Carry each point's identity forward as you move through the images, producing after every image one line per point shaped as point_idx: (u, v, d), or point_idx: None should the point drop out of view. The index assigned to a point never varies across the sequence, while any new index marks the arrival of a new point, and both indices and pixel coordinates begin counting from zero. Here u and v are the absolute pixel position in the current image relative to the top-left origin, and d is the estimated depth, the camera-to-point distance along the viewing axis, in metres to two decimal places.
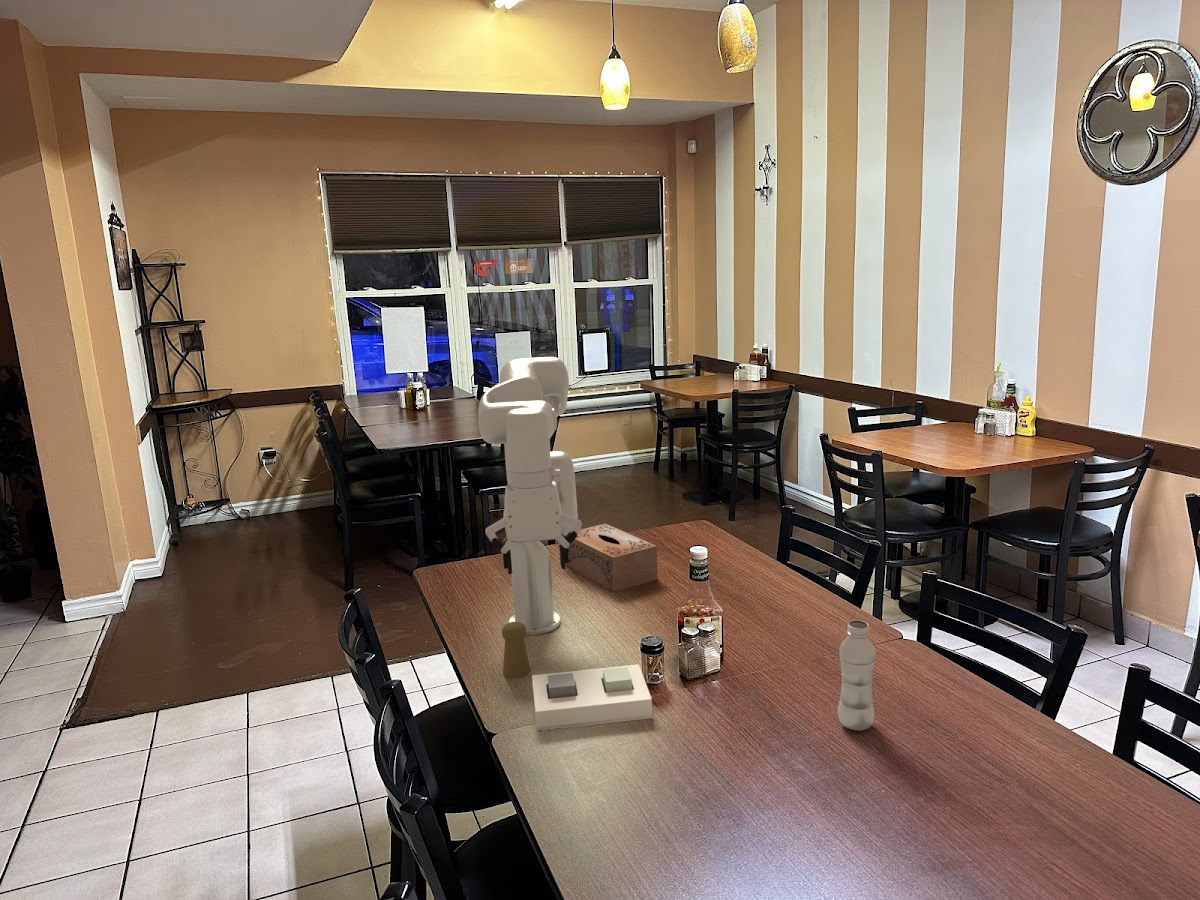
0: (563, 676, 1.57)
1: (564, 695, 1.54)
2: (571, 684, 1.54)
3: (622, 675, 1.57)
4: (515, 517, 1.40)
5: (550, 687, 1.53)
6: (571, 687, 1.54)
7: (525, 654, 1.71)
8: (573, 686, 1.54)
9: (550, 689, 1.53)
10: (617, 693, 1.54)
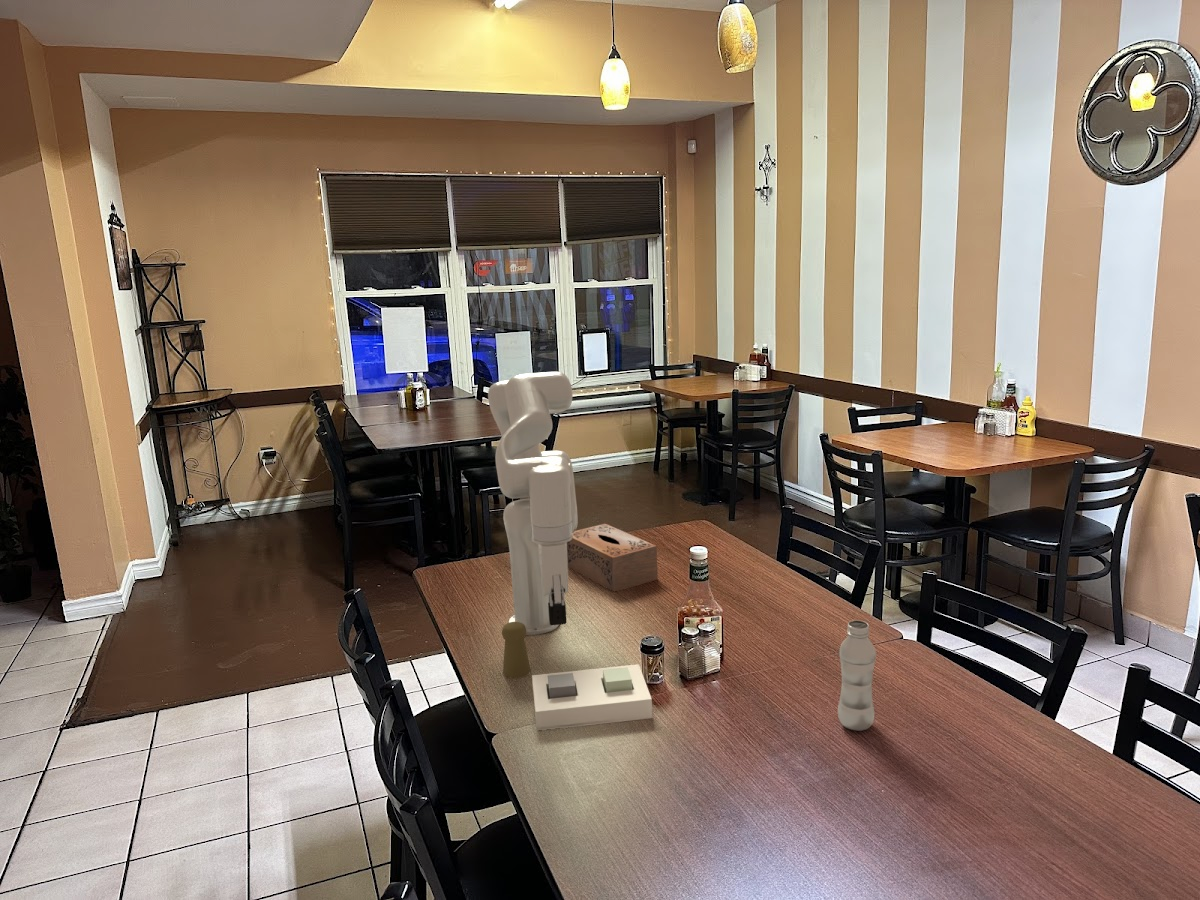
0: (563, 676, 1.57)
1: (564, 695, 1.54)
2: (571, 684, 1.54)
3: (622, 675, 1.57)
4: (567, 568, 1.48)
5: (550, 687, 1.53)
6: (571, 687, 1.54)
7: (525, 654, 1.71)
8: (573, 686, 1.54)
9: (550, 689, 1.53)
10: (617, 693, 1.54)
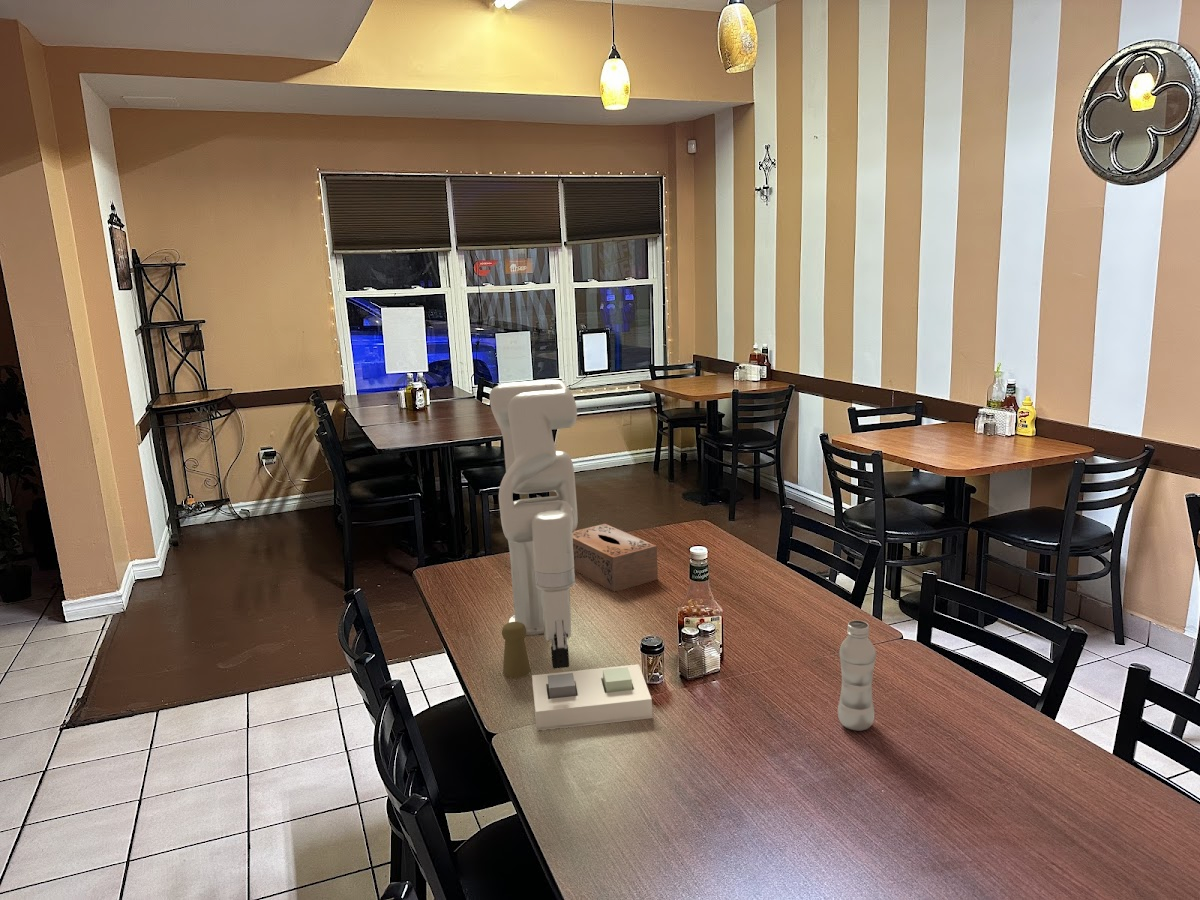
0: (563, 676, 1.57)
1: (564, 695, 1.54)
2: (571, 684, 1.54)
3: (622, 675, 1.57)
4: (570, 612, 1.49)
5: (550, 687, 1.53)
6: (571, 687, 1.54)
7: (525, 654, 1.71)
8: (573, 686, 1.54)
9: (550, 689, 1.53)
10: (617, 693, 1.54)
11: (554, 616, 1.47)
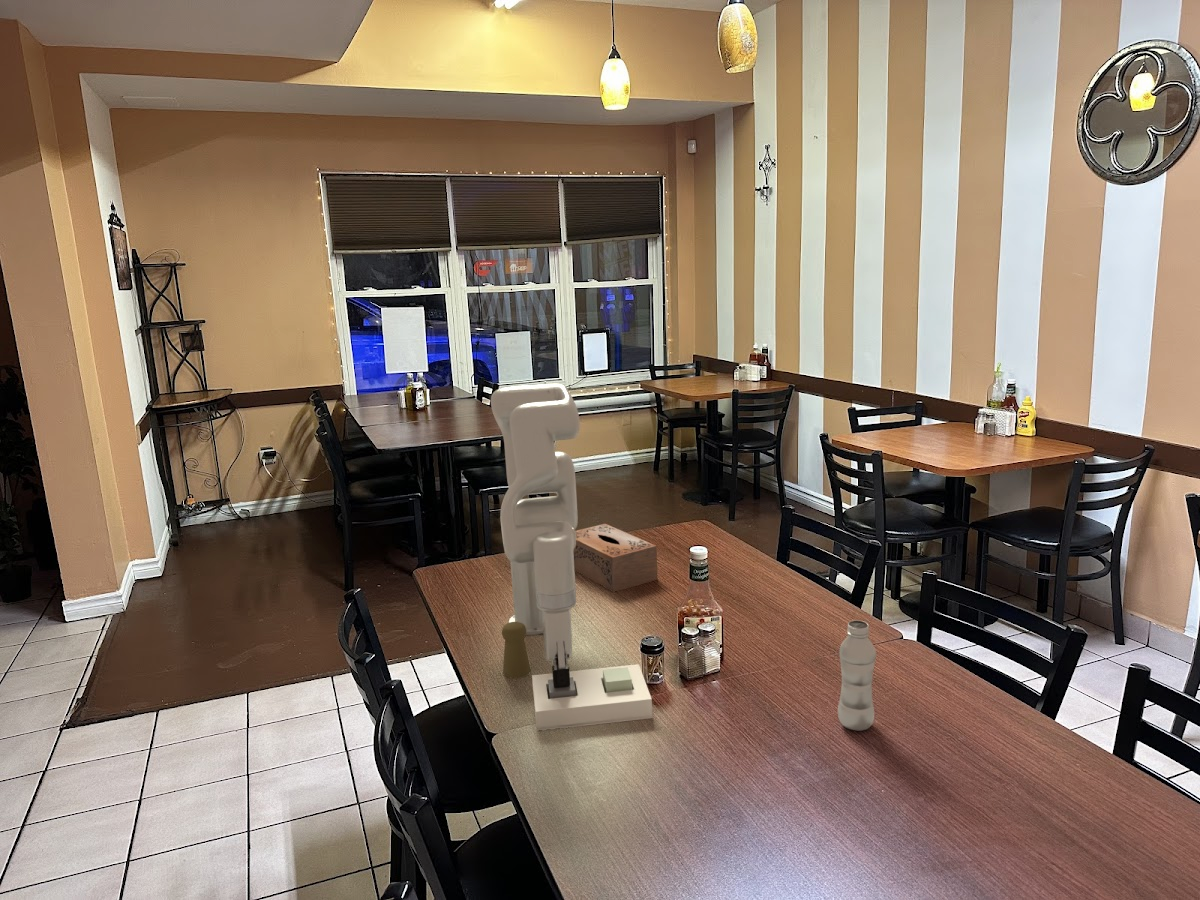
0: None
1: None
2: (572, 688, 1.54)
3: (622, 675, 1.57)
4: (571, 633, 1.50)
5: (550, 691, 1.54)
6: (571, 692, 1.54)
7: (525, 654, 1.71)
8: (573, 690, 1.54)
9: (550, 693, 1.53)
10: (617, 693, 1.54)
11: (555, 637, 1.48)
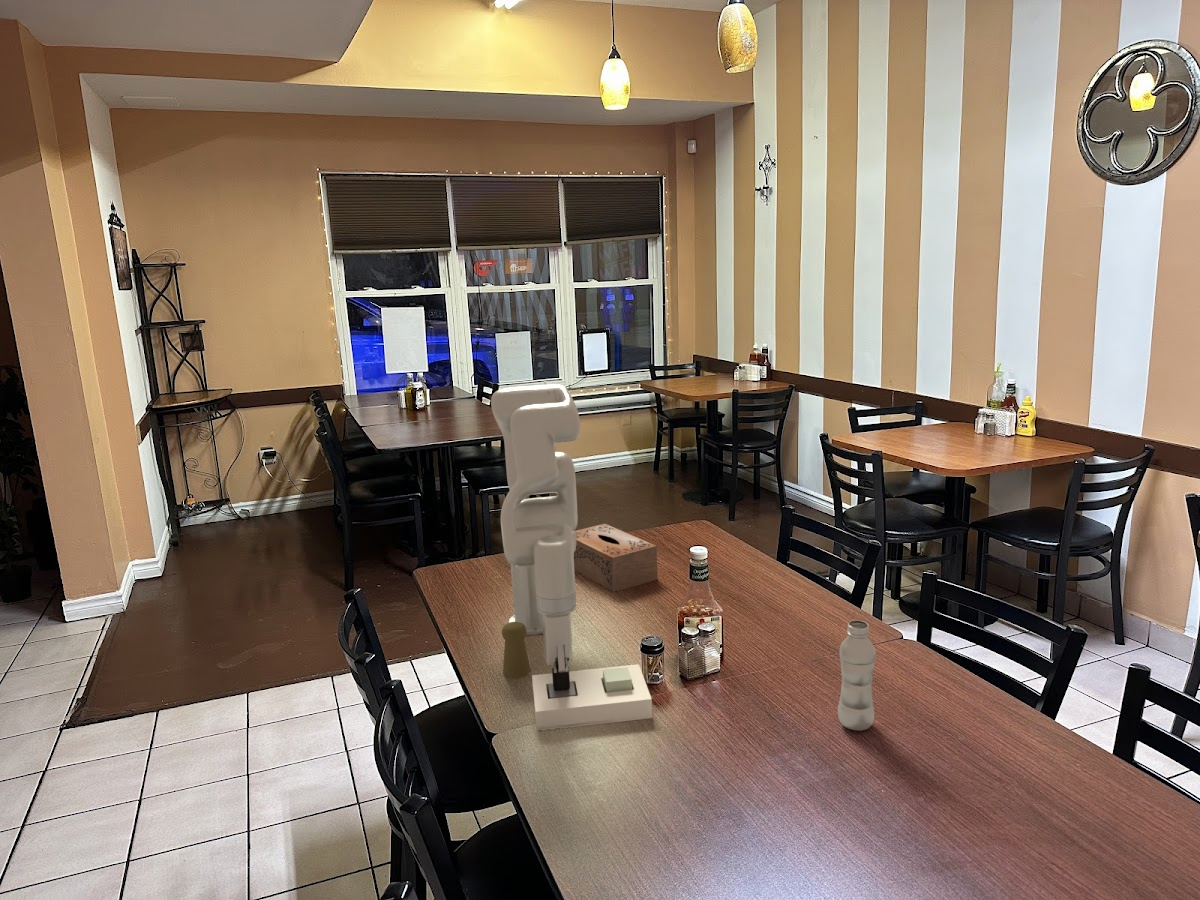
0: None
1: None
2: (572, 693, 1.55)
3: (622, 675, 1.57)
4: (571, 637, 1.51)
5: (551, 696, 1.54)
6: None
7: (525, 654, 1.71)
8: (574, 695, 1.54)
9: (551, 698, 1.54)
10: (617, 693, 1.54)
11: (555, 641, 1.49)
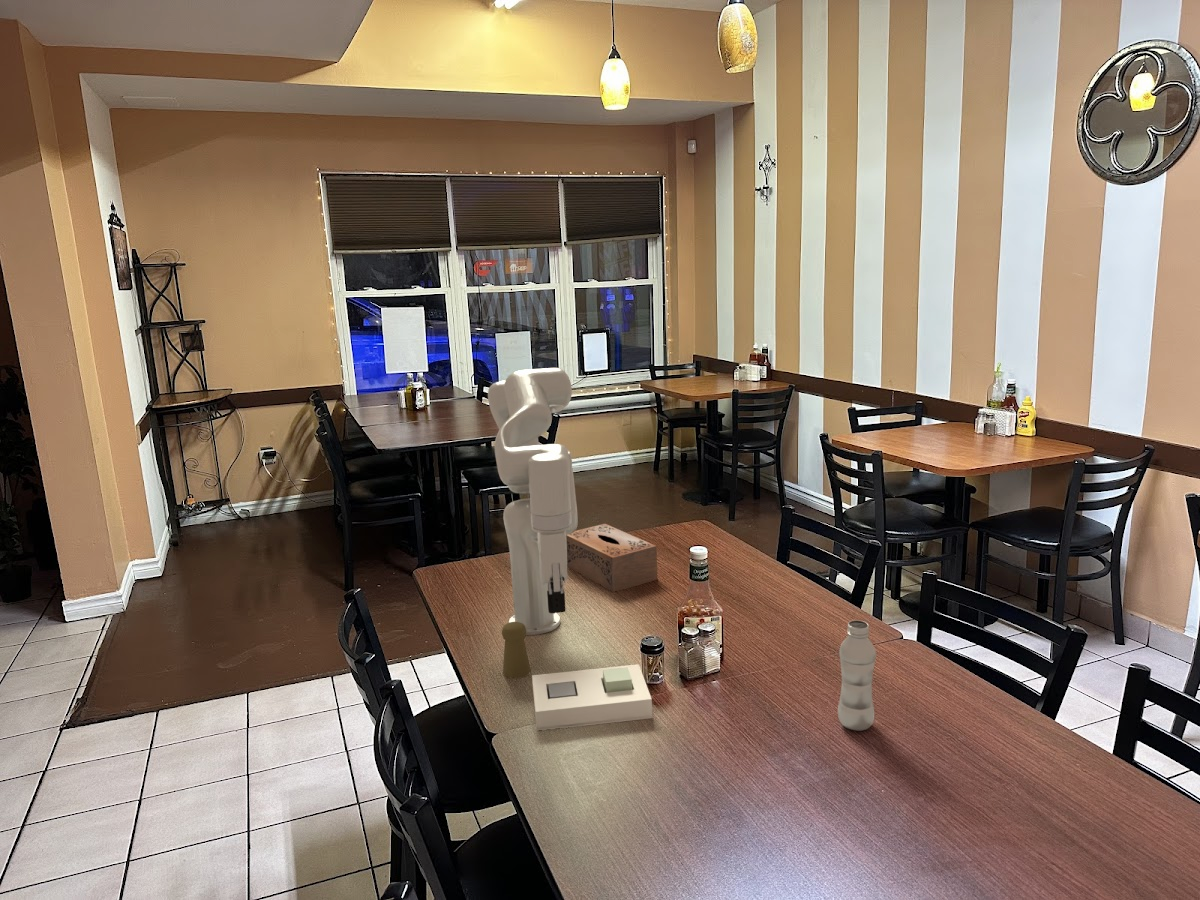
0: (563, 685, 1.58)
1: None
2: (572, 693, 1.55)
3: (622, 675, 1.57)
4: None
5: (551, 696, 1.54)
6: None
7: (525, 654, 1.71)
8: (574, 695, 1.54)
9: (551, 698, 1.54)
10: (617, 693, 1.54)
11: (550, 559, 1.45)
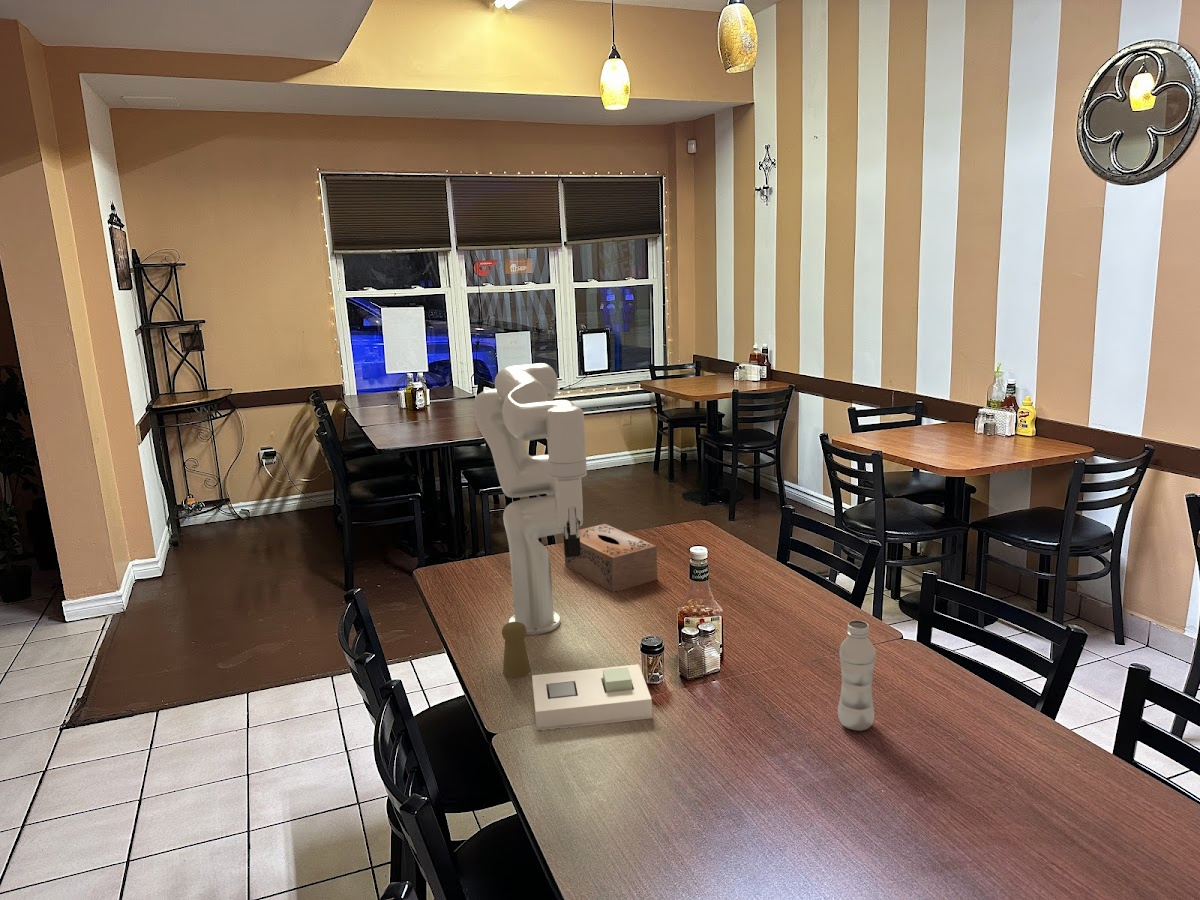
0: (563, 685, 1.58)
1: None
2: (572, 693, 1.55)
3: (622, 675, 1.57)
4: (582, 502, 1.58)
5: (551, 696, 1.54)
6: None
7: (525, 654, 1.71)
8: (574, 695, 1.54)
9: (551, 698, 1.54)
10: (617, 693, 1.54)
11: (567, 504, 1.56)
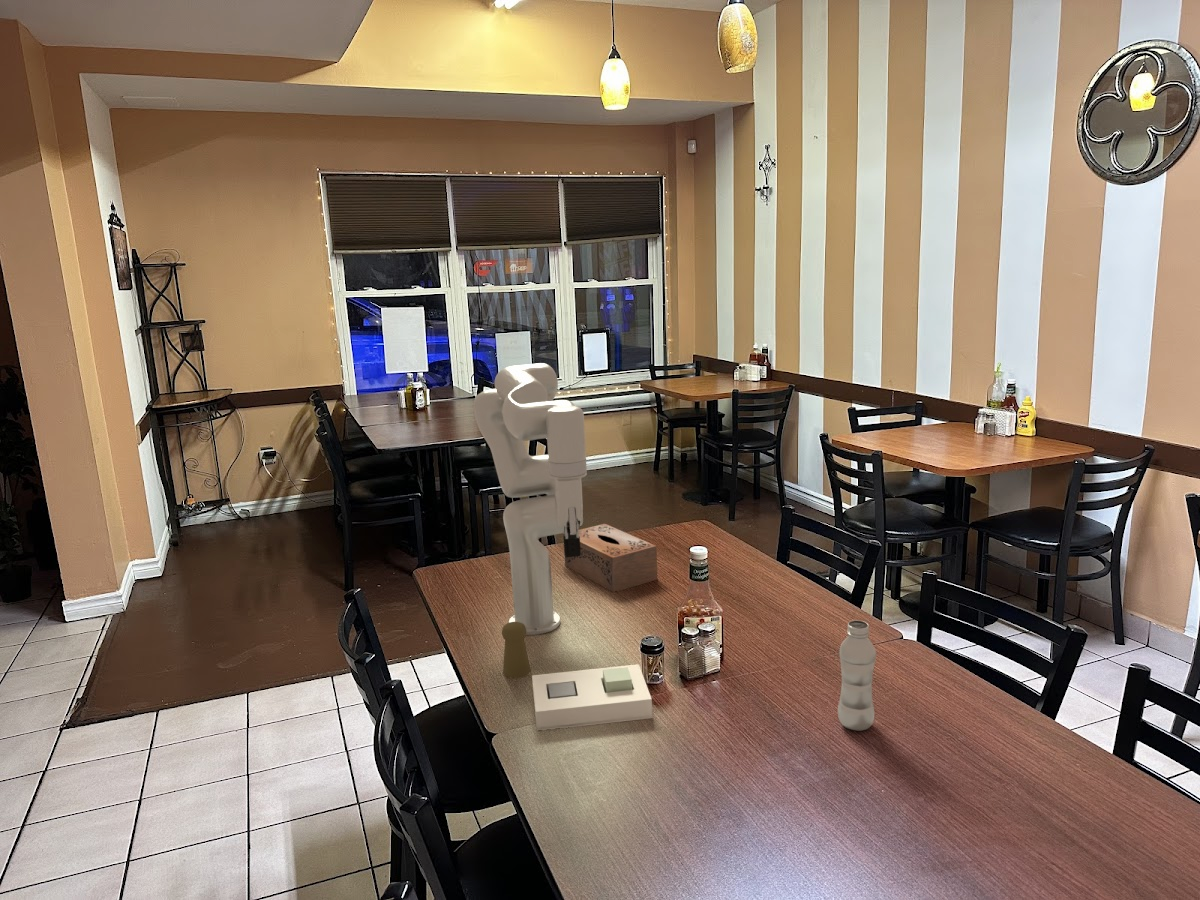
0: (563, 685, 1.58)
1: None
2: (572, 693, 1.55)
3: (622, 675, 1.57)
4: (582, 502, 1.58)
5: (551, 696, 1.54)
6: None
7: (525, 654, 1.71)
8: (574, 695, 1.54)
9: (551, 698, 1.54)
10: (617, 693, 1.54)
11: (567, 504, 1.56)
